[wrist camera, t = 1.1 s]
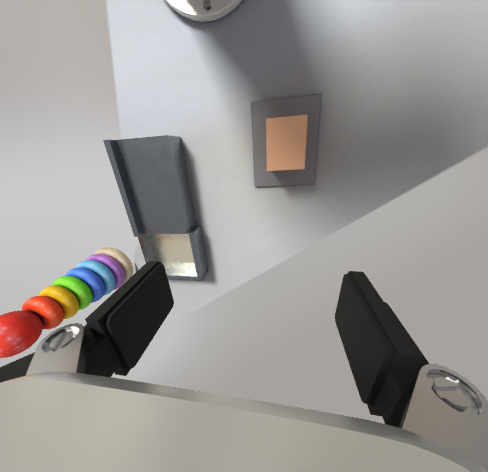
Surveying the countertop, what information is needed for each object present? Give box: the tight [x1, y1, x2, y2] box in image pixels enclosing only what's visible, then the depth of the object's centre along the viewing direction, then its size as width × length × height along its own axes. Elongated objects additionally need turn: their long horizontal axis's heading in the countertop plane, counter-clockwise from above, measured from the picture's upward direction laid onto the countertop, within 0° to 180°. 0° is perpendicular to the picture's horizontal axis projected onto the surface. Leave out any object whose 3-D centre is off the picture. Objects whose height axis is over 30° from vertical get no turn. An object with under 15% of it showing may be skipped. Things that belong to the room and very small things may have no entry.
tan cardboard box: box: [266, 115, 308, 171], centre depth 22 cm, size 5×4×5 cm
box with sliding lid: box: [104, 135, 208, 281], centre depth 29 cm, size 22×10×4 cm, turn 4°
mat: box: [251, 94, 321, 187], centre depth 25 cm, size 10×8×1 cm
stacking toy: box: [0, 247, 133, 358], centre depth 29 cm, size 8×8×19 cm
